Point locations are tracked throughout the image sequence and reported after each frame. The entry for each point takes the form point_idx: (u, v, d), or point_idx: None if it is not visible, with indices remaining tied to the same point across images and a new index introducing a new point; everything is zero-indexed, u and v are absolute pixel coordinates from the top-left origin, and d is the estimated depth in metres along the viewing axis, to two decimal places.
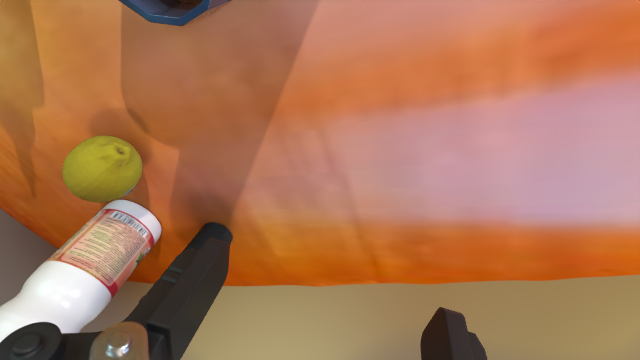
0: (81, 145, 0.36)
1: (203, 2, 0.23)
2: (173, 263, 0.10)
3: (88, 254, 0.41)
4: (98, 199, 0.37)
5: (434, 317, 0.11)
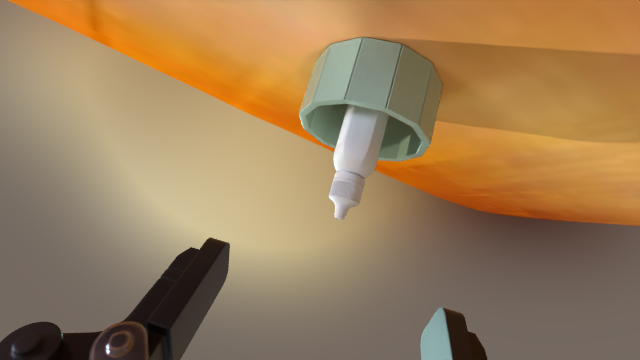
0: None
1: None
2: (173, 263, 0.10)
3: None
4: None
5: (434, 317, 0.11)
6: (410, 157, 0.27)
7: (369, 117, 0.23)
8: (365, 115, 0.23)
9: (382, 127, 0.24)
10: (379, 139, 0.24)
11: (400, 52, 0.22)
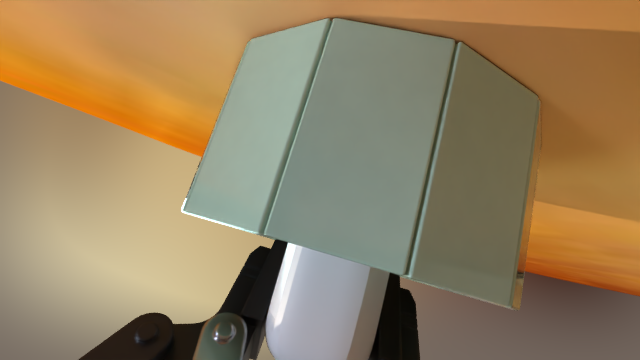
0: None
1: None
2: (248, 260, 0.11)
3: None
4: None
5: None
6: (447, 290, 0.12)
7: None
8: None
9: None
10: (381, 296, 0.09)
11: (449, 65, 0.07)
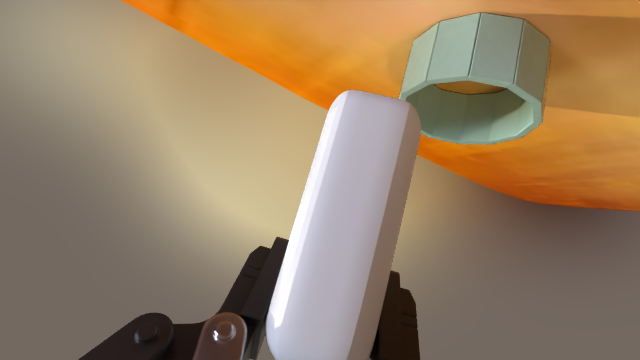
0: None
1: None
2: (248, 260, 0.11)
3: None
4: None
5: None
6: (506, 139, 0.26)
7: (353, 250, 0.08)
8: (342, 243, 0.08)
9: (389, 262, 0.09)
10: (381, 297, 0.09)
11: (521, 27, 0.21)
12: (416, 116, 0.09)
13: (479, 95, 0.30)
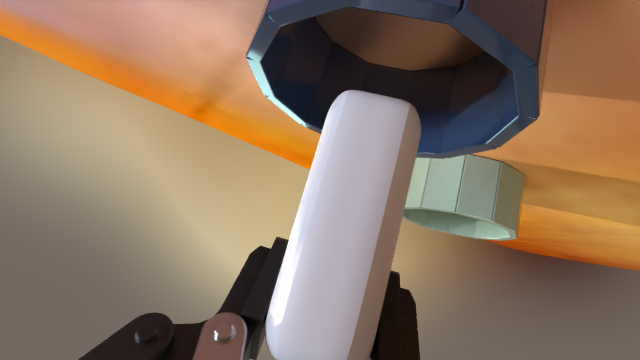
0: None
1: (442, 19, 0.08)
2: (248, 260, 0.11)
3: None
4: None
5: None
6: (489, 239, 0.31)
7: (353, 250, 0.08)
8: (342, 243, 0.08)
9: (389, 262, 0.09)
10: (381, 297, 0.09)
11: (498, 168, 0.25)
12: (416, 116, 0.09)
13: None
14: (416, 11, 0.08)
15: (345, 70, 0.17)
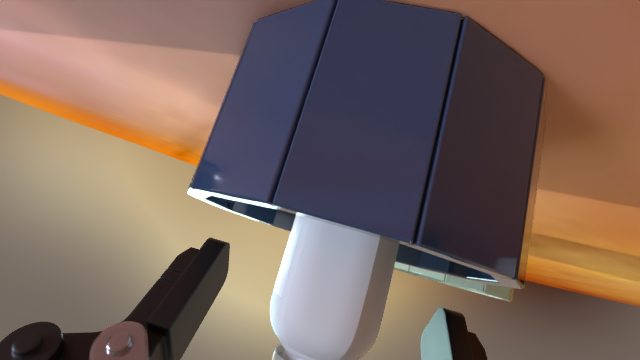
0: None
1: (394, 241, 0.06)
2: (173, 263, 0.10)
3: None
4: None
5: (434, 317, 0.11)
6: (483, 294, 0.29)
7: None
8: None
9: None
10: (388, 276, 0.09)
11: None
12: None
13: None
14: (361, 231, 0.06)
15: None
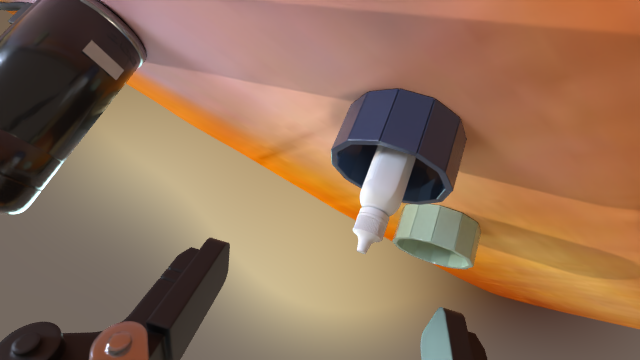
0: None
1: (411, 154, 0.23)
2: (173, 263, 0.10)
3: None
4: None
5: (434, 317, 0.11)
6: (457, 268, 0.44)
7: (399, 158, 0.24)
8: (395, 156, 0.24)
9: (410, 169, 0.25)
10: (406, 180, 0.25)
11: (461, 217, 0.40)
12: None
13: None
14: (402, 150, 0.23)
15: (371, 152, 0.33)
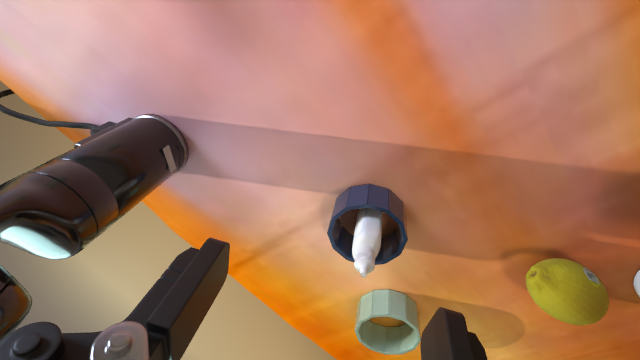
0: (534, 300, 0.42)
1: (385, 211, 0.40)
2: (173, 263, 0.10)
3: None
4: (596, 304, 0.38)
5: (434, 317, 0.11)
6: (408, 350, 0.53)
7: (376, 219, 0.41)
8: (374, 218, 0.41)
9: (381, 227, 0.41)
10: (381, 232, 0.41)
11: (404, 297, 0.53)
12: None
13: (391, 327, 0.58)
14: (380, 209, 0.40)
15: (346, 235, 0.48)
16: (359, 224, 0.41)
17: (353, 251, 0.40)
